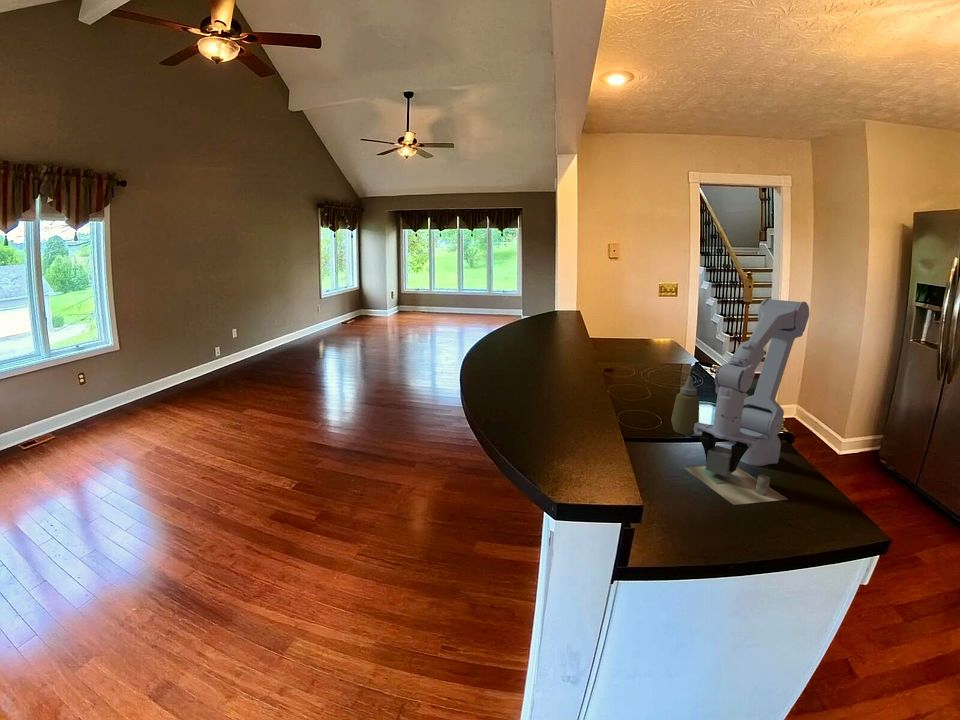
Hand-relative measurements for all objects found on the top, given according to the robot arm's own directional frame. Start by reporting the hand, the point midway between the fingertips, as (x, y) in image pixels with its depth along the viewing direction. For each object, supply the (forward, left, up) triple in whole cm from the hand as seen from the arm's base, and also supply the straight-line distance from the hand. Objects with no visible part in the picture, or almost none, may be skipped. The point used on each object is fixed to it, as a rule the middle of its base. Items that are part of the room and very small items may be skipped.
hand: (720, 466), depth 115 cm
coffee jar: (-27, -21, -4) cm, 34 cm away
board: (-1, +3, -4) cm, 5 cm away
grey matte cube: (0, 0, -1) cm, 1 cm away
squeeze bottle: (-11, -31, -4) cm, 33 cm away
